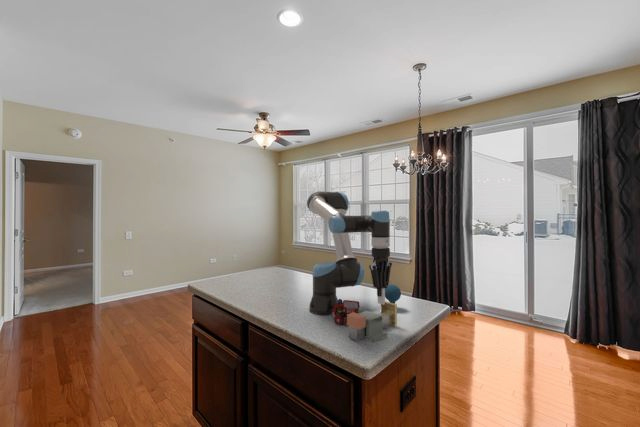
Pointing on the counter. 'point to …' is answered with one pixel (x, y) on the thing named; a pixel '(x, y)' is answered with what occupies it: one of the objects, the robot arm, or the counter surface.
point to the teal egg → (392, 293)
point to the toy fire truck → (344, 310)
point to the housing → (373, 326)
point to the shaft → (387, 320)
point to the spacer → (356, 320)
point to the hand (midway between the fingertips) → (381, 303)
